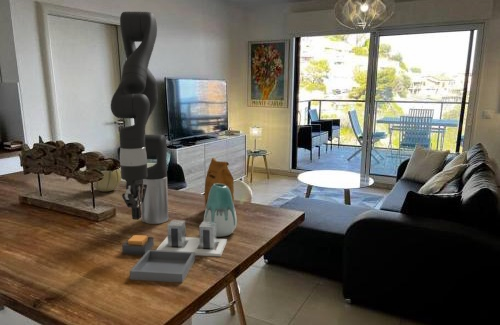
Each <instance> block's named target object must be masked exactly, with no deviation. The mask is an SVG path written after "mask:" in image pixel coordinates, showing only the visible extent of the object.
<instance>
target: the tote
mask: <svg viewBox="0 0 500 325" xmlns="http://www.w3.org/2000/svg"><path fill="white" fill-rule="evenodd" d="M194 262H196V255H195V252H181V251H162V250H156V249H150V250H148V251H147V252H146V253H145V254H144V255H142V256H141V257H140V258H139V260H138V261H137V262H136V264H135V265H133V266H132V268H130V270H129V279H130V280H132V281H134V280H136V281H147V282H148V281H150V282H166V283H167V282H169V283H184V280H186V277H187V275H188V274H189V272H190V271H191V268H192V267H193V265H194Z"/></svg>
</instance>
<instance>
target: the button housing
mask: <svg viewBox="0 0 500 325" xmlns="http://www.w3.org/2000/svg"><path fill="white" fill-rule="evenodd" d="M133 236H134V235H132V236H131V237H133ZM128 240H129V239H127V240H126V241H125V242H124V243H123V244H122V245H121V246H122V248H121V250H122V255H131V256H133V255H134V256H143V255H144V254H145V253H146V252H147V251H148V250H152V248H153V247H154V244H155V243H154V242H155V240H154V237H152V236H151V237H150V236H148V240H147V241H146V243H145V244H144V245H131V244H128Z"/></svg>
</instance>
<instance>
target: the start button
mask: <svg viewBox="0 0 500 325" xmlns="http://www.w3.org/2000/svg"><path fill="white" fill-rule="evenodd" d="M132 236H133V237H132ZM132 236H131V237H130V238H128V239H127V240H128V244H131V245H144V244H145V243H146V241H147V240H148V237H149V236H148V235H143V234H140V235H139V234H138V235H137V234H134V235H132Z"/></svg>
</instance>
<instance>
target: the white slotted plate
mask: <svg viewBox="0 0 500 325" xmlns="http://www.w3.org/2000/svg"><path fill="white" fill-rule="evenodd" d="M216 240H217V245H216V248H215V250H208V249H200V240H199V237H190V236H188V237H187V236H186V244H185V246H184V247H183V248H170V247H168V235H167V236H166V237H165V239H164V240H163V241H162V242H161V243H160V245H159V246H157V248H156V249H155V250H162V251H181V252H195V256H205V257H206V256H207V257H222V256H223V255H222V254H223V252H224V249H225V247H226V245H227V244H228V239H227V238H216Z"/></svg>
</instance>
